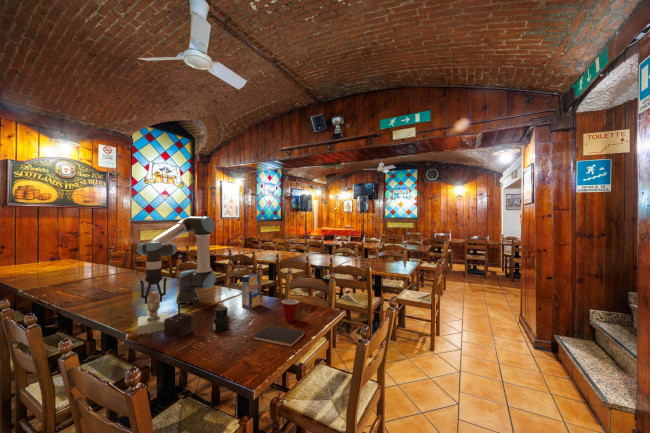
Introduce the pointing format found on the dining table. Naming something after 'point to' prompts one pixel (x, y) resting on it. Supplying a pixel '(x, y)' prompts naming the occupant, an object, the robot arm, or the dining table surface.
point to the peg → (153, 305)
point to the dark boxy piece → (180, 322)
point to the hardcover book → (279, 335)
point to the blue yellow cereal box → (250, 290)
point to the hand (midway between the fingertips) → (153, 308)
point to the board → (151, 324)
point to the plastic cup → (290, 309)
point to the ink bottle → (221, 320)
